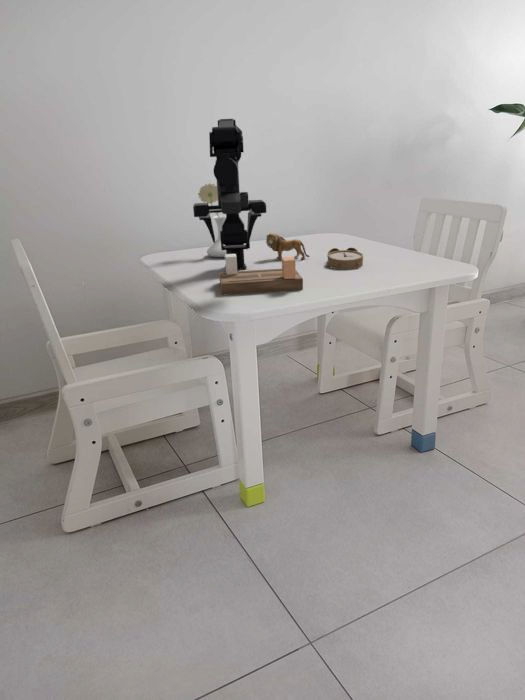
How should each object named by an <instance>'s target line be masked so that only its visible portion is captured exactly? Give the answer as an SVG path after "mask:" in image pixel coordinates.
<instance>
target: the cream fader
mask: <svg viewBox="0 0 525 700" xmlns="http://www.w3.org/2000/svg"><path fill="white" fill-rule="evenodd" d="M224 259H225V261H224V263H225V265H226V266H225V272H226V273H227V275H232V274H238V273H237V271H238V269H237V256H236V254H225V257H224Z"/></svg>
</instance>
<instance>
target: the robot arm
mask: <svg viewBox="0 0 525 700" xmlns="http://www.w3.org/2000/svg"><path fill="white" fill-rule="evenodd" d="M242 153H244V136H243V131H242V130H241V128H239V126H237V124H236V119H234V118H223V119H222V118H220V119H219V120H218V119H217V126H212V127H211V131H209V157H210V158H216V159H215V164H214V166H213V175H214V177H215V179H216V186H217V194H218V201H217V204H216V205H215V204H214V205H213V204H212V205H209V203H207V202H198V203H197V202H196V203H194V204H193V205H192V207H193V209H192V211H193V217H194V218H198V219H199V220H200V221H203V222H204V223H205V225H206V228H207V230H208V231H209V234H210V237H211V239H212V242H213V243H215V241H216V238H215V232H214V228H213V222H212V217H211V214H216V213H217V214H219V213H218V212H220V213H222V214H223V215H225V216H226V219H225V221H224V223H223V225H222V231H220V238H221V249H222V250H226V254H236V256H237V270H246V269H247V265H246V263H245V250H248V249H251V244H250V241H251V236H252V232H253V229H254V226H255V223H256V220H258V217H259V218H261V217H262V214H266V213H267V203H266V202H264V200H262V199H252V200H251V199H250V200H249V193H248V191H241V192H240V177H239V176H240V173H239V162H240V160H241V158H242ZM242 212H247V225H246V226H247V227H246V228H247V229H245V223H244V222H243V221H244V220H242V218H241V217H240V213H242ZM224 245H225V246H224ZM224 265H225V267H226V264H224Z"/></svg>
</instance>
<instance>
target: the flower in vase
mask: <svg viewBox="0 0 525 700" xmlns="http://www.w3.org/2000/svg"><path fill="white" fill-rule="evenodd" d="M197 194H198V195H197V196H198V197H199V198H198V199H200V202H202V203H208V205H209V204H211V205H210V206H213V203H216V202H218V194H217V185H215V184H214V183H208V184H207V183H206V184H204V185H203V186H201V187H200V188H199V192H198V193H197ZM220 213H221V212H218V213H215V216H213V217H212V218H213V219H214V221H215V223H216V225H217V227H216V228H217V239H215V243H214V242H213V243H212V244H211V245H210V246H208V248H207V250H206V254H207V255H208V256H211V257H215V258H225V254H226V250H222V249H221V238H220V231H222V225H223V223H224V221H225V219H226V215H219V214H220ZM224 246H225V245H224Z"/></svg>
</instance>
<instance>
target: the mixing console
mask: <svg viewBox="0 0 525 700" xmlns="http://www.w3.org/2000/svg"><path fill="white" fill-rule="evenodd" d="M237 273H238V274H232V275H227V273H226V271H224V272H221V271H220V272H219V274H218V275H219V285H220V289H221V290H220V291H221V295H222V296H225V295H224V294H229V295H241V294H253V293H255V294H256V293H258V294H259V293H271V292H282V291H283V292H284V291H285V292H286V291H299V290H304V280H303V279H304V278H303V277H302V276H301V275H300V273H299V272H298V270H297V269H296V268H295V275H296V278H294V279H284V278H283V276H282V268H270V269H269V268H267V269H257V270H256V269H254V270H253V269H251V270H239V271H238V270H237Z"/></svg>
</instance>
